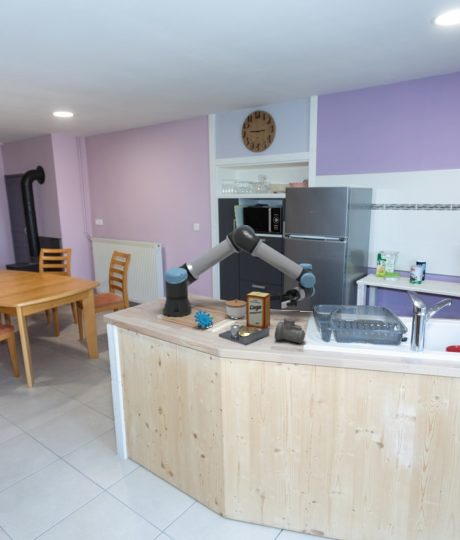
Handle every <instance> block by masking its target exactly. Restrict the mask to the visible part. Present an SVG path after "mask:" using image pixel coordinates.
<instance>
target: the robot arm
mask: <svg viewBox="0 0 460 540" xmlns="http://www.w3.org/2000/svg"><path fill="white" fill-rule="evenodd" d="M242 251H244V252H245V253H247V254H249V255H250V256H252V255H255V256H256V257H258V258H260V259H261V260H263V261H264V262H265V263H268V264H269V265H271V267H273V268H275V269H277V270H278V271H280V272H282V273H284V274H285V275H286V276H288V277H290V278H291V279H294V281H296V282H297V286H296V287H293V288H290V289H287V290H286V292H284V293H281V292H277V293H269V294H270V301H279V302H281V303H280V305H281V306H280V307H281V308H280V309H286V308H289V307H293V306H294V307H298V305H299V303H301V301H303V300H307V299H309V298H312V297H313V296H314V295H315V293H316V289H315V287H314V286H315V284H316V282H317V281H316V280H317V279H316V275H314V273H313V265H312V264H311V263H299V264H298V263H296V262H295V261H294V260H292V259H290V258H288V257H287V256H286V255H283V254H282V253H281V252H279V251H278V250H275V249H274V248H273V247H271V246H269V245H268V244H266V243H265V242H263V241H262V239H261V237H258V236H257V235H256V232H255V229H253V227H251V226H250V225H245V224H241V225H239V226H237V228H235V229H234V230H232V231H231V232H230V233H228V234H227V235H226V238H225V239H224V240H223V241H221V242H220V243H217V244H216V245H215V246H214V247H212V248H211V249H209V250H208V251H206V252H204V253H203V254H201V255H200V256H199V257H197V258H196V259H194V260H193V261H186V262H185V263H183V264H182V265H180V266H178V267H174V268H171V269H167V270H166V271H165V274H164V281H165V282H164V283H165V302H164V306H163V310H162V311H163V312H162V313H163V315H164V314H166V315H169V316H168V317H171V316H179V317H184V316H183V315H186V316H188V315H187V314H189V315H191V314H192V313H193V311H192V306H191V304H190V300H189V291H188V289H189V288H188V287H189V286H190V285H191V284H193V283H195V282H197V281H198V280H199V279H200V275H202V274H203V273H205V272H207V271H208V270H210V269H212V268H213V267H214V266H215V265H218V263H221V262H222V261H223V260H225V259H226V258H228V257H229V256H231V255H232V254H234V253H237V254H239V253H240V252H242ZM190 313H191V314H190ZM166 315H165V316H166Z"/></svg>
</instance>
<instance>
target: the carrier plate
mask: <svg viewBox="0 0 460 540" xmlns="http://www.w3.org/2000/svg"><path fill="white" fill-rule="evenodd" d="M268 336H270V326H268V327H266V328H264V329H259V328H254V327H248V326H246V325H238V324H232V325H230V329H229V330H226V331H224V332H221V333H219V334H218V337H220V338H223V339H227V340H229V341H231V342H232V341H233V342H235V343H238V344H241V345H245V346H247V345H250V344H252V343H254V342H257V341H259V340H261V339H264V338H267V337H268Z"/></svg>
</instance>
